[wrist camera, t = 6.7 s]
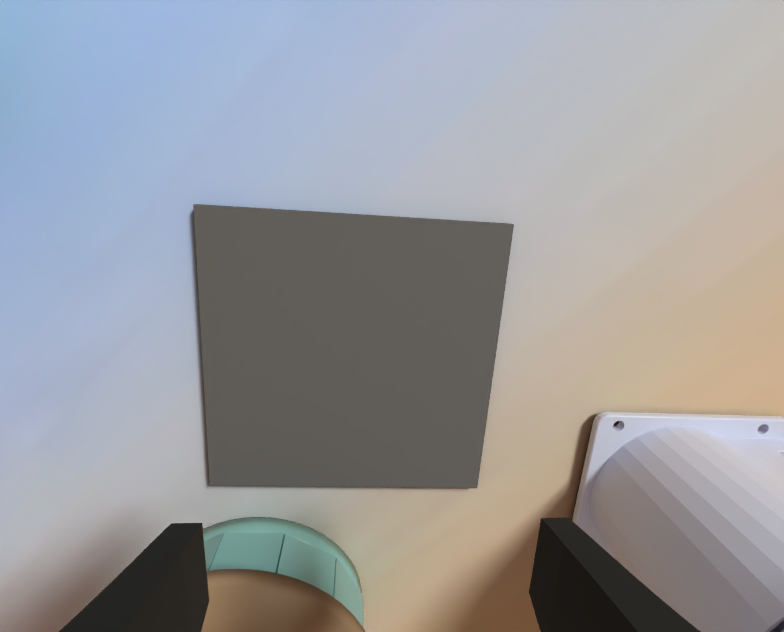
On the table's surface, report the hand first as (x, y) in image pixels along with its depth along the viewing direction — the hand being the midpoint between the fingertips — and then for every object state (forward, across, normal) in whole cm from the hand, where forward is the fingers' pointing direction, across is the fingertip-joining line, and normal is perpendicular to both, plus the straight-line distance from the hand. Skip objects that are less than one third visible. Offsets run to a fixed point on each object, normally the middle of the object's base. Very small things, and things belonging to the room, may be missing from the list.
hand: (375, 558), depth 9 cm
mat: (+10, +1, 0) cm, 10 cm away
